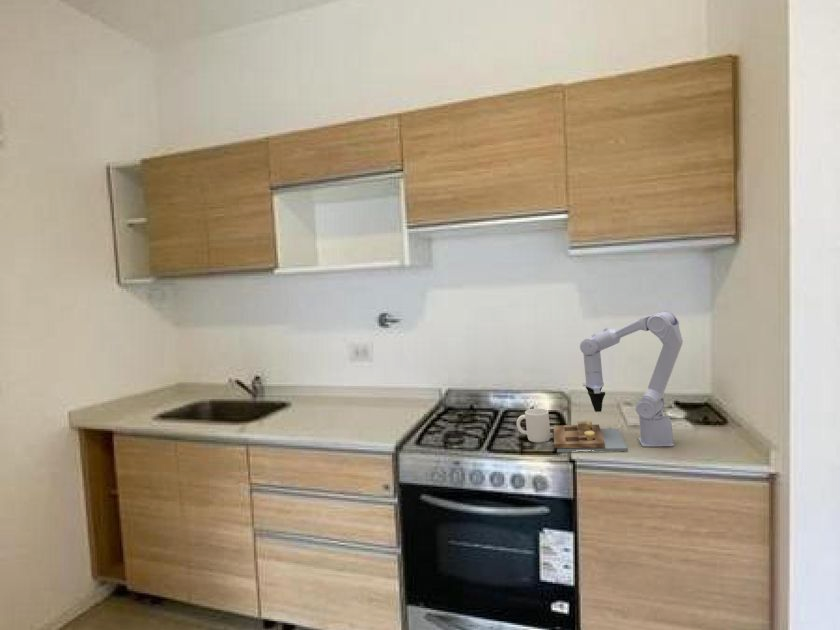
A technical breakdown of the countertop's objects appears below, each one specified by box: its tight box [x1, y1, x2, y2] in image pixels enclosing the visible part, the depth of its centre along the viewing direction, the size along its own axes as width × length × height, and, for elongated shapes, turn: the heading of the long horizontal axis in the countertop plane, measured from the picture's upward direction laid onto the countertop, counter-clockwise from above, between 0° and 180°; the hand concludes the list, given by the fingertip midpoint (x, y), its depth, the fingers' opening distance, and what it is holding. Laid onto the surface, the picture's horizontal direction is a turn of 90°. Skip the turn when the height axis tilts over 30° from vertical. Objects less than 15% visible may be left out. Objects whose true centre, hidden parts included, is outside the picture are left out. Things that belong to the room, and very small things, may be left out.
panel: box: [553, 420, 605, 449], centre depth 167 cm, size 16×20×5 cm
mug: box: [516, 408, 551, 444], centre depth 175 cm, size 12×8×10 cm
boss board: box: [556, 420, 629, 453], centre depth 166 cm, size 22×20×5 cm
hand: (596, 408), depth 171 cm, fingers open, 7 cm apart
